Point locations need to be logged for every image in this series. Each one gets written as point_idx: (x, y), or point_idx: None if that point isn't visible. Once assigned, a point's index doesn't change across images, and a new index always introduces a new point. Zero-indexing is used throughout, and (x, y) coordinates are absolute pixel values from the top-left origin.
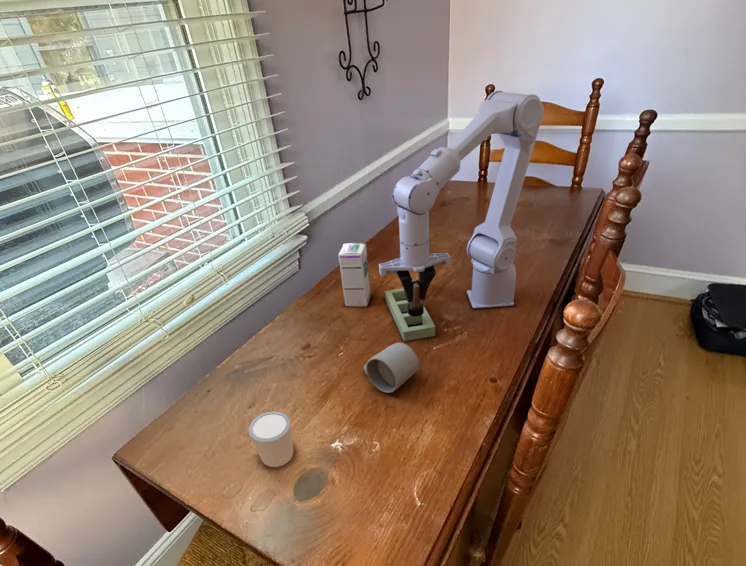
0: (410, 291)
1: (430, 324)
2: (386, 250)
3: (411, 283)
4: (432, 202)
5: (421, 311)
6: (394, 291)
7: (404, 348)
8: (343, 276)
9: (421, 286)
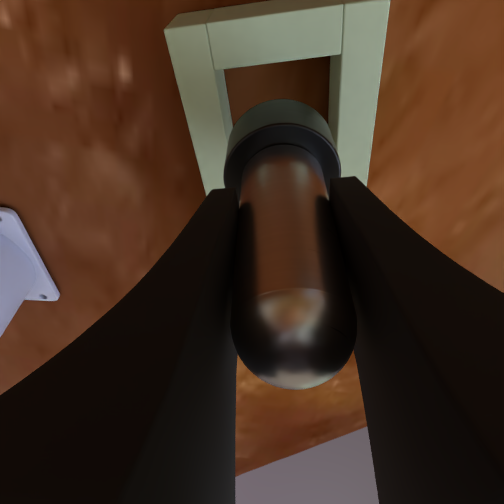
0: (373, 244)
1: (195, 63)
2: (277, 436)
3: (346, 345)
4: None
5: (246, 123)
6: None
7: None
8: None
9: (225, 301)
